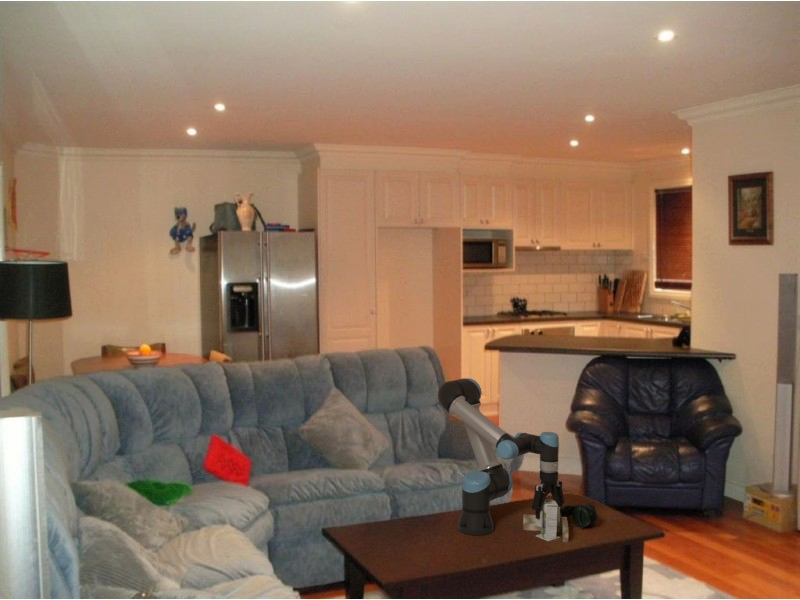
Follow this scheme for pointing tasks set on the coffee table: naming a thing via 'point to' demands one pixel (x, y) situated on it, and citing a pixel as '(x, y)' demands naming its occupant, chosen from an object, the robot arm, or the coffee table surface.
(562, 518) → the beige l-shaped wall
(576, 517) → the headphones
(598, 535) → the coffee table surface
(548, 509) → the syrup box
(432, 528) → the coffee table surface
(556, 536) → the pad
